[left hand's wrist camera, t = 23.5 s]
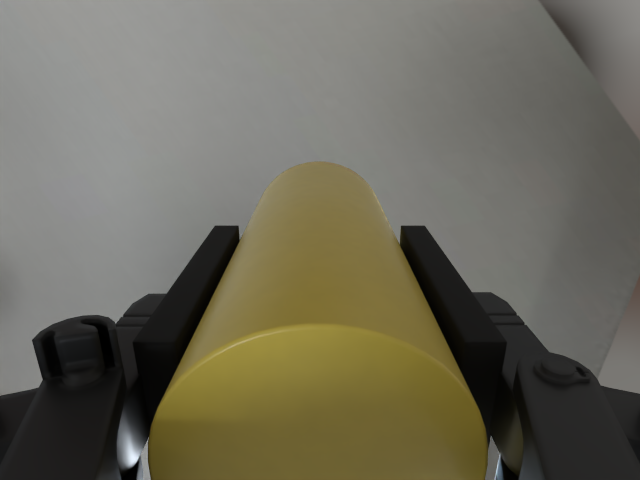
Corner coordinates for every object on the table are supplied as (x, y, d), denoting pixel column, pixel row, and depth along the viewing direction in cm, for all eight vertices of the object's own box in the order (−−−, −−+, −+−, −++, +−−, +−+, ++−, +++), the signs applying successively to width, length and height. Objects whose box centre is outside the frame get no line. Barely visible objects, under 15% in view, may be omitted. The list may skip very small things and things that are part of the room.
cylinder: (407, 208, 18) (563, 438, 6) (334, 301, 19) (355, 622, 8) (301, 134, 17) (263, 253, 5) (232, 239, 18) (89, 504, 7)
